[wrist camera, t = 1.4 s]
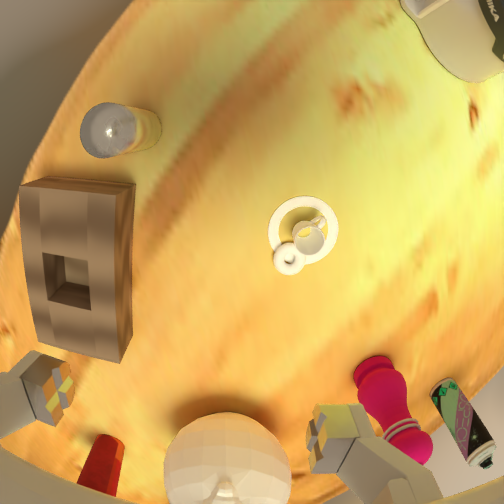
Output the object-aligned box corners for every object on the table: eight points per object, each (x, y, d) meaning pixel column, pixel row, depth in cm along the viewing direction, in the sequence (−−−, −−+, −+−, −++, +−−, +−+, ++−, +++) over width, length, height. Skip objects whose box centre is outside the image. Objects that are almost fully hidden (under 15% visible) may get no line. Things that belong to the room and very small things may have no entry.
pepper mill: (354, 356, 42) (403, 470, 23) (398, 349, 42) (457, 451, 23) (346, 390, 44) (383, 497, 26) (388, 383, 45) (433, 481, 26)
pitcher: (292, 392, 44) (318, 545, 21) (276, 454, 50) (288, 570, 27) (166, 386, 43) (134, 538, 20) (177, 450, 49) (162, 565, 26)
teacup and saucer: (285, 278, 37) (290, 295, 34) (247, 225, 35) (248, 236, 31) (348, 238, 36) (360, 251, 32) (314, 181, 33) (324, 187, 30)
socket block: (47, 176, 31) (19, 185, 26) (135, 184, 32) (115, 195, 27) (57, 317, 38) (38, 341, 33) (132, 335, 39) (119, 363, 34)
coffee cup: (84, 435, 49) (63, 492, 35) (106, 427, 47) (85, 491, 33) (115, 456, 51) (99, 513, 37) (138, 450, 50) (124, 512, 36)
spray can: (458, 377, 46) (508, 452, 27) (443, 398, 48) (486, 473, 29) (440, 377, 45) (490, 459, 27) (424, 399, 47) (467, 480, 29)
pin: (126, 108, 29) (83, 102, 20) (164, 111, 30) (134, 103, 20) (120, 148, 31) (77, 156, 21) (158, 151, 31) (126, 160, 22)
